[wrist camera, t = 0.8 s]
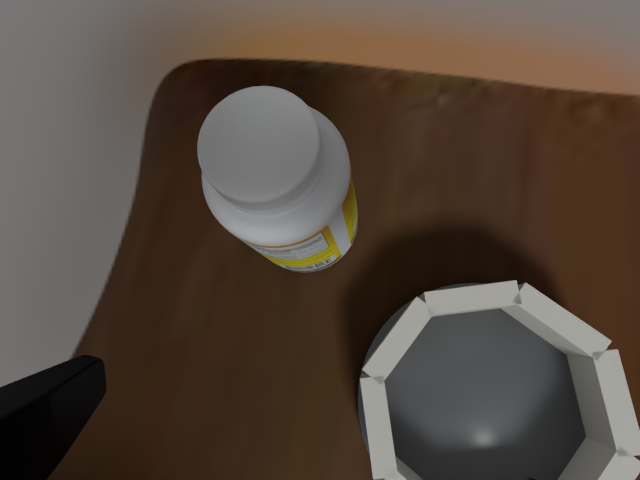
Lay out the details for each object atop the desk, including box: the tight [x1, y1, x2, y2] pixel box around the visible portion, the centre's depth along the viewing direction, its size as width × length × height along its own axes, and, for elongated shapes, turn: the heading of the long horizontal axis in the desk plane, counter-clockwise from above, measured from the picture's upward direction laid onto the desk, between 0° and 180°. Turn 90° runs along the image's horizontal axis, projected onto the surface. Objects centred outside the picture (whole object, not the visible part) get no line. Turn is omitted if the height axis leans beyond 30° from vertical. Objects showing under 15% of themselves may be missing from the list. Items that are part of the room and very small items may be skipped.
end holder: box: [358, 280, 640, 480], centre depth 19 cm, size 11×11×3 cm
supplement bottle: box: [197, 86, 358, 272], centre depth 19 cm, size 6×6×10 cm
